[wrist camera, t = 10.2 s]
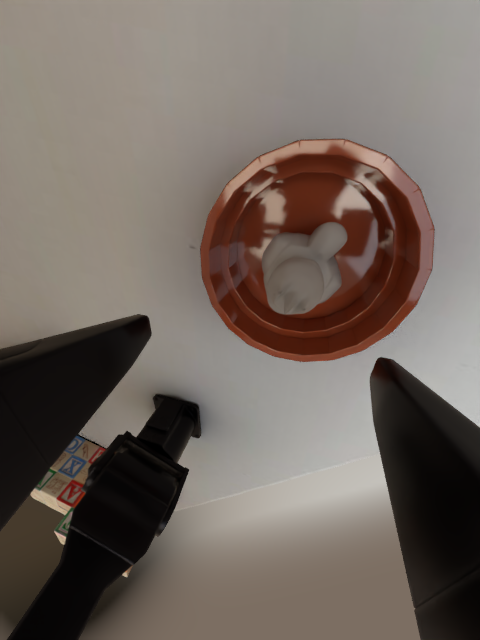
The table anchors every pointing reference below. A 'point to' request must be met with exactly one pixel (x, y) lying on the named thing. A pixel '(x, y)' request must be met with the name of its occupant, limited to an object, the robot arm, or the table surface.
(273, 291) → the grey rounded figurine
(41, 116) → the table surface
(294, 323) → the bowl
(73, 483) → the stack of blocks
